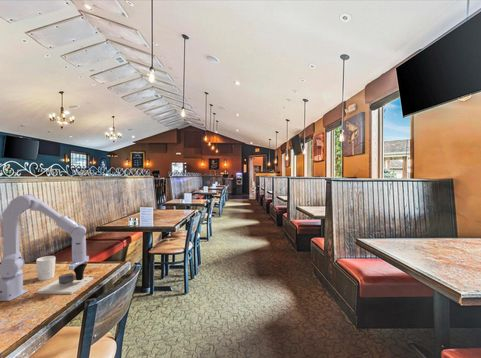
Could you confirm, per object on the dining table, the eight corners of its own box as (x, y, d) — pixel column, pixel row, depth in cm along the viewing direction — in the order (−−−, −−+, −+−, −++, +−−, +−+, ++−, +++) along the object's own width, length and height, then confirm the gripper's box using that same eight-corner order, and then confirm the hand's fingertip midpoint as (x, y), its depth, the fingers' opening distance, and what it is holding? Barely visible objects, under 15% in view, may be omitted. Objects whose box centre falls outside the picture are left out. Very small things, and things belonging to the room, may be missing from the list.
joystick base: (71, 294, 115) (71, 289, 115) (36, 293, 115) (36, 288, 115) (93, 279, 131) (93, 275, 131) (62, 278, 131) (62, 274, 131)
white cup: (59, 275, 136) (59, 256, 136) (47, 281, 128) (46, 261, 128) (45, 274, 137) (45, 255, 137) (32, 280, 129) (32, 260, 129)
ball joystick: (57, 284, 119) (57, 279, 119) (60, 279, 124) (60, 274, 124) (83, 280, 123) (82, 275, 123) (84, 276, 129) (84, 271, 129)
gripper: (80, 255, 117) (80, 285, 117) (95, 246, 131) (95, 273, 132) (63, 256, 116) (64, 286, 117) (80, 247, 131) (80, 274, 131)
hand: (79, 279), depth 124 cm, fingers closed, pressing on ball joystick
